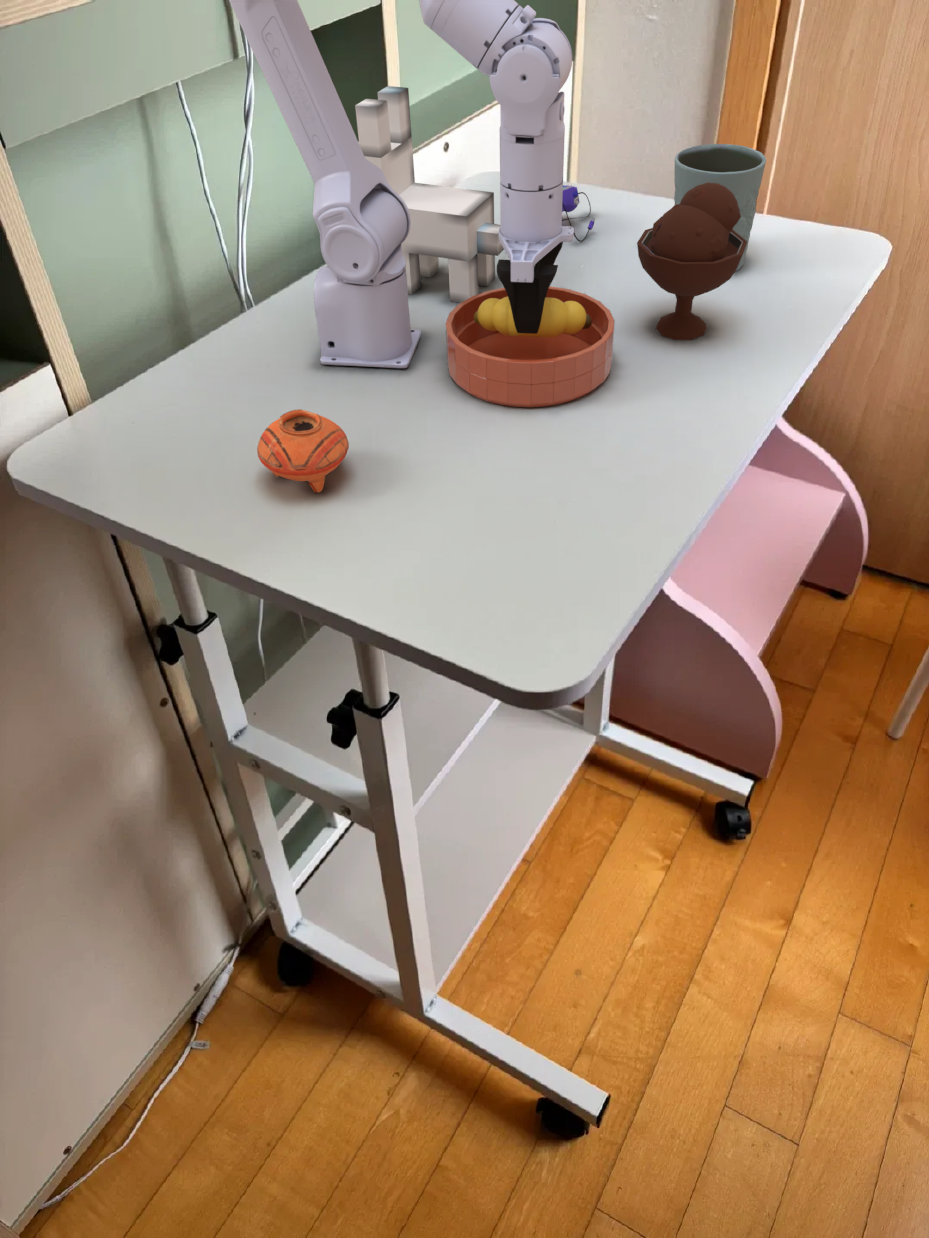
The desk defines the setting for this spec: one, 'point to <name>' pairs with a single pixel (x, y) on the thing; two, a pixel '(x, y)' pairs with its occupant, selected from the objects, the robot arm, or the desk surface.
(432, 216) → the toy llama
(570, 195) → the game controller
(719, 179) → the grey green cup
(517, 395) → the bowl
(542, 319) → the banana
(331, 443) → the pot
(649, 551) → the desk surface
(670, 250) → the ice cream bowl
